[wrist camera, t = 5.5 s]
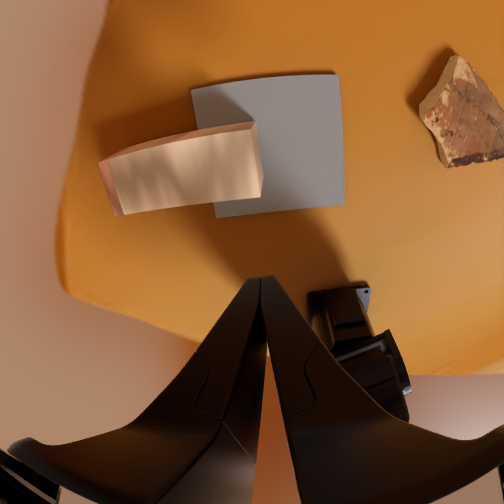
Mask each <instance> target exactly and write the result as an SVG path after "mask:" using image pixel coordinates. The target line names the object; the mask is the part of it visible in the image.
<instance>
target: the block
mask: <svg viewBox="0 0 504 504" xmlns="http://www.w3.org/2000/svg"><path fill="white" fill-rule="evenodd" d="M98 166H99V169H100V172H101V176H102V179H103V182H104V185H105V188H106V191H107V194H108V197H109V200H110V203H111V206H112V209H113V211H114V214H115V216H121V215H127V214H133V213H139V212H145V211H152V210H158V209H165V208H172V207H180V206H187V205H195V204H203V203H211V202H220V201H229V200H238V199H248V198H258V197H261V191H262V184H263V177H264V174H263V167H262V160H261V152H260V145H259V138H258V131H257V124H256V121H251V122H243V123H236V124H229V125H223V126H217V127H211V128H206V129H200V130H195V131H190V132H185V133H180V134H176V135H171V136H167V137H163V138H159V139H155V140H151V141H147V142H143V143H139V144H136V145H132V146H129V147H126V148H124V149H122V150H120V151H118V152H116V153H114V154H112V155H110V156H109V157H107V158H105V159H103V160H101V161H100V162H98Z"/></svg>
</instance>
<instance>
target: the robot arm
mask: <svg viewBox="0 0 504 504" xmlns="http://www.w3.org/2000/svg"><path fill="white" fill-rule="evenodd" d="M365 290H366V291H365ZM370 294H371V288H370V286H368V285H363V286H356V287H349V288H341V289H333V290H325V291H317V292H310V293H308V294H307V296H306V319H305V317H304V316H303V315H302V313H301V312H300V311H299V309H298V308H297V306H296V305H295V304H294V302H293V301H292V299H291V298H290V297H289V295H288V294H287V293H286V291H285V290H284V288H283V287H282V286H281V284H280V283H279V282H278V280H277V279H276V277H275V276H264V277H262V278H260V277H255V278H248V279H247V280H246V282H245V283H244V284H243V286H242V287H241V289H240V290H239V291H238V293H237V294H236V296H235V297H234V298H233V300H232V301H231V303H230V304H229V305H228V307H227V308H226V310H225V311H224V312H223V314H222V315H221V317H220V318H219V319H218V321H217V322H216V324H215V325H214V326H213V328H212V329H211V330H210V332H209V333H208V335H207V336H206V337H205V339H204V340H203V342H202V343H201V344H200V346H199V347H198V349H197V350H196V352H194V354H193V355H192V356H191V358H190V359H189V361H188V362H187V363H186V364H185V366H184V367H183V368H182V370H181V371H180V372H179V373H178V375H177V376H176V377H175V378H174V379H173V380H172V381H171V383H170V384H169V385H168V386H167V387H166V388H165V389H164V390H163V391H162V392H161V393H160V394H159V395H158V397H157V398H156V399H155V400H154V401H153V402H152V403H151V404H150V405H149V406H148V407H147V408H146V409H145V410H144V411H143V412H142V413H141V414H140V415H139V416H138V417H137V418H136V419H135V420H133V421H132V422H131V423H129V424H128V425H126V426H124V427H122V428H119V429H116V430H113V431H110V432H107V433H104V434H100V435H97V436H93V437H90V438H86V439H83V440H79V441H75V442H72V443H67V444H63V445H45V444H42V443H40V442H39V441H37V440H35V439H33V438H30V437H27V438H25V439H21V440H18V441H16V442H14V443H13V444H12V445H11V446H10V447H9V448H8V449H7V451H8V452H9V453H10V454H11V455H10V454H9V453H7V452H6V451H4V450H3V449H1V448H0V504H251V500H252V492H253V484H254V476H255V466H256V465H255V464H256V458H257V449H258V439H259V430H260V420H261V410H262V399H263V389H264V377H265V365H266V355H267V342H268V347H269V353H270V358H271V362H272V367H273V373H274V377H275V383H276V387H277V393H278V398H279V403H280V408H281V413H282V418H283V423H284V428H285V433H286V438H287V443H288V448H289V452H290V457H291V463H292V467H293V472H294V477H295V482H296V488H297V492H298V497H299V502H300V504H504V425H501V426H499V427H497V428H495V429H494V430H492V431H490V432H489V433H487V434H485V435H484V436H482V437H480V438H477V439H473V440H458V439H453V438H450V437H446V436H443V435H440V434H438V433H434V432H432V431H429V430H426V429H423V428H420V427H418V426H415V425H413V424H410V423H408V422H409V413H408V409H407V405H406V401H405V398H404V396H406V395H408V394H410V393H412V390H411V385H410V381H409V377H408V374H407V370H406V367H405V364H404V362H403V359H402V357H401V354H400V352H399V350H398V347H397V345H396V343H395V341H394V338H393V336H392V334H391V332H390V329H388V330H385V331H384V332H383V333H381V334H379V335H376V336H375V334H374V331H373V329H372V326H371V323H370V320H369V318H368V315H367V309H368V305H369V299H370ZM310 297H313V298H310Z"/></svg>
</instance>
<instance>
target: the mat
mask: <svg viewBox="0 0 504 504" xmlns="http://www.w3.org/2000/svg"><path fill="white" fill-rule="evenodd" d="M191 96H192V101H193V107H194V112H195V117H196V123H197V128H198V130H200V129H206V128H211V127H217V126H223V125H229V124H236V123H243V122H251V121H256V124H257V131H258V138H259V145H260V152H261V160H262V167H263V174H264V177H263V184H262V191H261V197H258V198H248V199H238V200H229V201H220V202H213V206H214V210H215V215H216V219H217V218H225V217H233V216H241V215H250V214H258V213H267V212H277V211H286V210H296V209H306V208H317V207H328V206H340V205H344V143H343V124H342V109H341V97H340V87H339V77H338V75H294V76H280V77H268V78H259V79H251V80H243V81H236V82H230V83H224V84H218V85H213V86H208V87H203V88H198V89H193V90H191Z"/></svg>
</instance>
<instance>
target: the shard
mask: <svg viewBox="0 0 504 504" xmlns="http://www.w3.org/2000/svg"><path fill="white" fill-rule="evenodd" d="M419 116H420V119H421V120H422V121H423V122H424V123H425V125H426V126H427V127H428V128H429V129H430V130H431V131H432V133H433V134H434V136H435V138H436V141H437V146H438V150H439V155H440V159H441V162H442V164H443V165H444V167H445V168H452V167H459V166H467V165H470V164H472V163H475V164H478V163H483V162H491V161H494V160H500V159H503V158H504V111H503V109H502V108H501V106H500V105H499V103H498V101H497V99H496V97H495V96H494V94H493V93H492V92H491V91H490V89H489V88H488V86H487V84H486V83H485V82H484V80H483V79H482V78H481V76H480V75H479V74H478V73H476V72H475V71H474V69H473V68H472V67H471V65H470V64H469V63H468V62H467V60H466V59H464V58H463V57H461V56H459V55H454V56H450V58H449V60H448V63H447V64H446V66H445V68H444V70H443V72H442V74H441V76H440V78H439V81H438V82H437V85H436V86H435V87H434V88H433V89H432V90H431V91H430V92H429V93H428V94H427V96H426V98H425V99H424V100H423V101H422V102H421V103H420V104H419Z"/></svg>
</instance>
